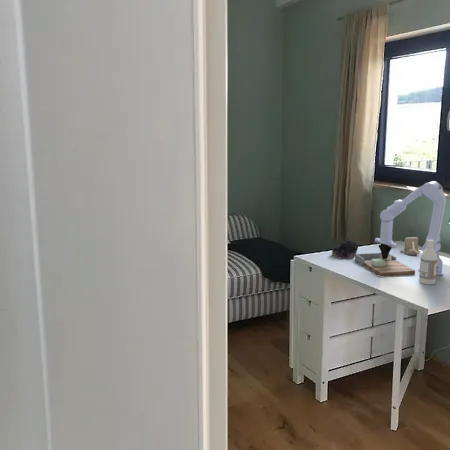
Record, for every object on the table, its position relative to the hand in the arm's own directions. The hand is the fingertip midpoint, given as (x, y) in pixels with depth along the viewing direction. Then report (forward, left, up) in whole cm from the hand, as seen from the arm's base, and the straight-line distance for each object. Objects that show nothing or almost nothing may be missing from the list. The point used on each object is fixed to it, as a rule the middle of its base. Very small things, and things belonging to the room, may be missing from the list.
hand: (384, 258), depth 263 cm
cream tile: (+2, -2, -2) cm, 4 cm away
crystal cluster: (+19, +13, -3) cm, 24 cm away
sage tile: (-7, +7, -1) cm, 10 cm away
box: (+4, +3, -3) cm, 6 cm away
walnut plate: (-10, +3, -3) cm, 11 cm away
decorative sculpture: (+19, -25, -3) cm, 32 cm away
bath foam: (-31, -5, -3) cm, 31 cm away
